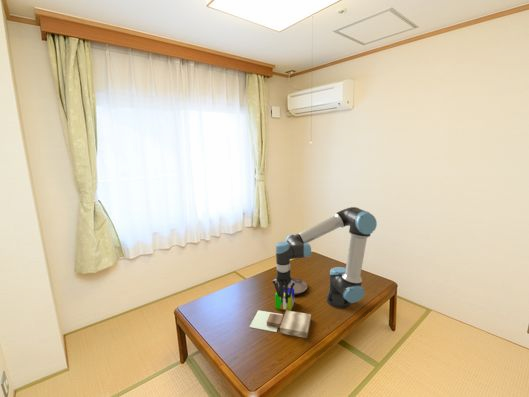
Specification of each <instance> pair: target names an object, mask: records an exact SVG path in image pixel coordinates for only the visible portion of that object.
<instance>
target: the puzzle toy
mask: <svg viewBox="0 0 529 397" xmlns="http://www.w3.org/2000/svg"><path fill="white" fill-rule="evenodd" d="M279 289H280V286H279ZM289 292H290V288H288V294H289ZM280 293H281V290H280ZM284 296H285V287H284ZM274 302H275V303H274V304H275V305H274V306H275V309H276V310H282V311H286V310H287V311H292V309H293V307H294V304H295V295H294V289H293V290H292V294H291V297H290V298H288V303H287V307H286V309H283V303H282V302H281V297H278V295H277V292H275V294H274Z"/></svg>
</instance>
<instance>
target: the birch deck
mask: <svg viewBox="0 0 529 397" xmlns="http://www.w3.org/2000/svg"><path fill="white" fill-rule="evenodd" d="M311 320H312V314H311V313H305V312H299V311H292V310H291V311H287V310H285V313H284V314H283V320H282V323H281V326H280V328H279V334H283V335H288V336H289V335H290V336H293V337H300V338H305V339H308V335H309V332H310V331H309V330H310V326H311V322H312V321H311Z"/></svg>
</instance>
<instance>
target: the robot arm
mask: <svg viewBox="0 0 529 397" xmlns="http://www.w3.org/2000/svg"><path fill="white" fill-rule="evenodd" d="M377 223H378V221H377V218H376V217H375V216H374V214H372V213H370V212H369V211H366V210H364V209H362V208H359V207H355V206H351V207H347V208H344V209H342V210H340V211H337V212H335V213H334V215H333V216H331V217H329V218H327V219H324V220H323V221H320V222H319V223H317V224H315V225H313V226H311V227H309V228H307V229H305V230H303V231H300V232H298V233H297V234H289V235H287V236H286V238H285V241H279V242H278V243H276V244H275V258H276V259H275V260H276V261H275V262H276V264H275V265H276V278H274V279H273V280H272V283H273V284H274V287H275V291H276V292H277V295H278V297H281V302H282V303H283V309H286V307H287V303H288V298H290V297H291V294H292V290H293V286H294V285H295V281H292V279H291V278H292V277H291V260H295V259H305V258H309V257H311V255H312V247H311V245H310V243H311V242H312V241H314V240H316V239H319V238H321V237H323V236H324V235H326V234H329V233H331V232H333V231H335V230H337V229H339V228H344V227H347V226H348V227H349V228H348V230H349V231H348V233H349V234H350V240H349V248H348V254H347V259H346V265H345V267H343V266H342V267H341V266H336V267H332V268H330V271H329V290H328V292H327V296H326V302H327V304H328V305H329V306H331V307H333V308H337V309H345V308H348V307H350V305H351V304H354V303H357V302H359V301H360V300H362V299H363V298H364V295H365V290H364V287H363V286H362V284H363V279H362V276H361V274H362V267H363V263H364V257H365V253H366V245H367V240H368V238H369V237H371V234H373V233H374V231H376V228H377V227H378V226H377V225H378V224H377ZM290 282H291V288H290V292H289V294H288V284H289V283H290ZM279 284H280V289H279V286H278V285H279ZM283 285H284V286H285V296H284V286H283ZM280 290H281V293H280ZM276 292H275V293H276Z"/></svg>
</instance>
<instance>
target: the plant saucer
mask: <svg viewBox="0 0 529 397" xmlns="http://www.w3.org/2000/svg"><path fill="white" fill-rule="evenodd" d="M291 279H292V281H295V285H294V286H293V289H294V296H298V295H301V294H303V293H304V292H305V291H306V290H307V289H308V284H307V282H306V281H305V280H303V279H301V278H298V277H291ZM278 286H280V284H279V283H278ZM283 286H284V285H283ZM284 287H285V286H284ZM288 288H291V282H290V283H289V284H288Z"/></svg>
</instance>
